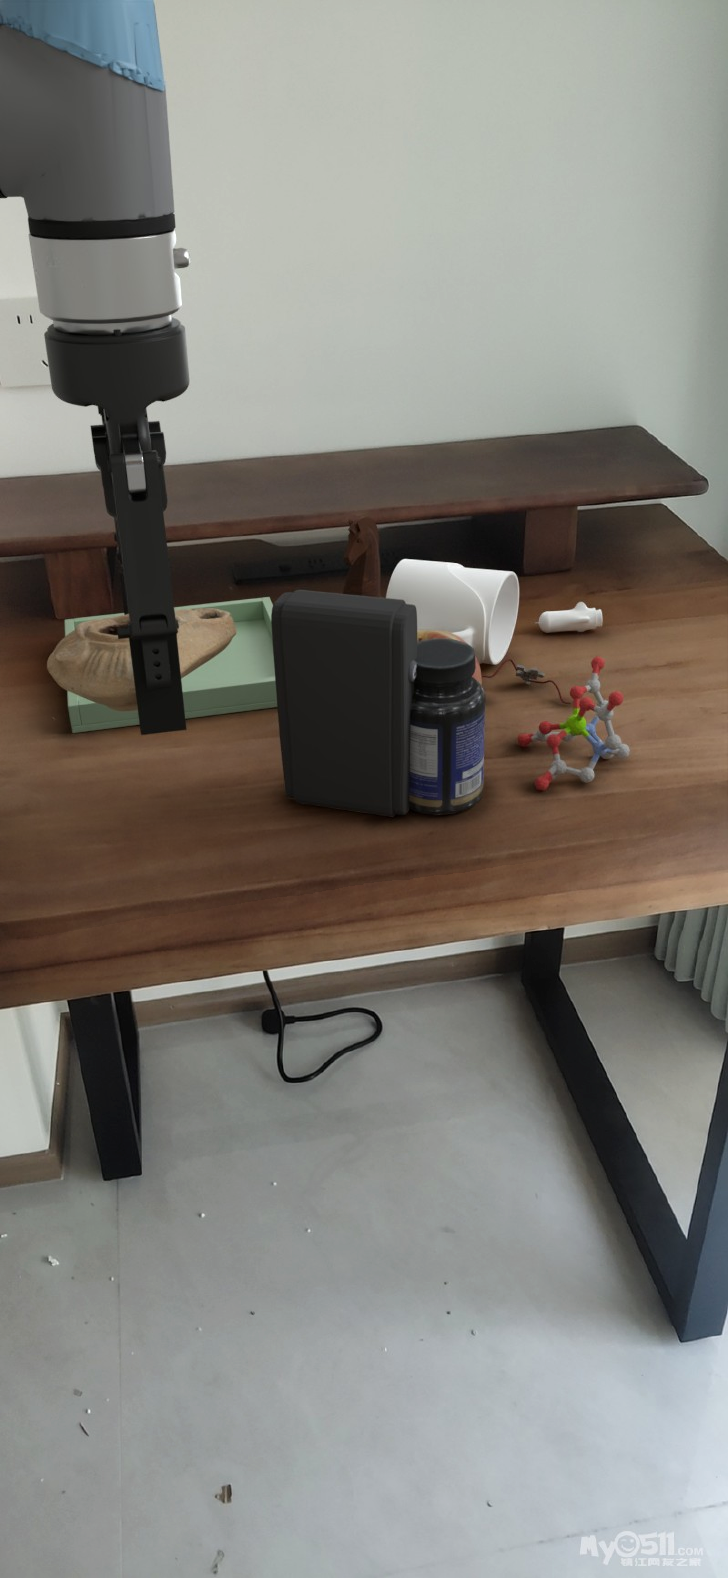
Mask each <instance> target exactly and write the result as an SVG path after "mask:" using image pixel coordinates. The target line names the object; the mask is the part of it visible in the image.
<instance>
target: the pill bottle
mask: <svg viewBox="0 0 728 1578" xmlns="http://www.w3.org/2000/svg"><path fill="white" fill-rule="evenodd" d="M415 661H416V663H417V665H416V678H415V680H414V682H415V688H414V695H413V698H412V702H411V709H410V787H409V805H410V808H409V810H412V811H414V812H417V813H419V814H424V815H430V816H441V815H451V814H456V813H461V812H463V811H466V810H469V809H470V808H472V807H473V806H475V805H476V804H477V803H478V802H479V801H481V798H482V796H483V793H484V784H485V783H484V781H485V779H484V778H485V777H484V775H485V774H484V767H485V732H486V731H485V728H486V727H485V726H486V693H485V690H484V687H483V685H482V686H481V684H480V683H479V682H478V681H477V680H476V679H475V678H474V677H472V675H473V674H474V673H475V669H476V660H475V651H474V649H473V648H472V647H471V646H470V645H468V644H467V643H464V642H462V641H458V640H454V639H447V638H446V639H444V638H437V639H436V638H435V639H427V640H422V641H419V642H417V658H416V660H415Z"/></svg>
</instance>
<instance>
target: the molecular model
mask: <svg viewBox="0 0 728 1578" xmlns="http://www.w3.org/2000/svg"><path fill="white" fill-rule="evenodd" d="M605 662H606V661H605V660H604V658H603V657H601V656H595V657H593V658H592V659H591V662H590V666H591V668H592V672H591V675H590V678H589V679H588V680H587V681H586V682H585V685H584V686H579V685H574V686H572V687H571V688H570V689H569V697H571V699H572V700H573V702H572V715H569V716H568V717H567V719H566V721H565V722H560V723H551V722H550V721H548V720H542V721H541V722H540V723H539V725H538V729H537V731H535V732H532V733H521V734H519V735H518V737H517V741H516V742H517V744H518V745H519V746H520V747H522V748H525V747H528V746H529V745H530V744H531V743H534V742H538V741H540V742H542V743H544V742H546V744H547V746H548V747H549V748H551V751H552V757H553V761H552V762H551V764H550V768H549V769H548V770H546V771H545V773H544V774H543V775H541V776H538V777H537V778H536V779H535V781H534V786H535V788H536V789H537V790H539V791H545V790H547V789H548V788H549V786H550V783H551V782H552V781H554V779H556V777H558V776H560V775H564V774H565V773H567V774H571V775H573V776H574V775H575V776H578V778H579V780H580V781H581V782H582V783H584V784H586V783H587V784H588V783H591V782H592V781H593V780H594V779H595V771H594V768H595V766H596V764H597V763H598V761H599V759H600V757H601V758H602V759H604V760H610V759H612V758H613V757H614V756H615V757H616V758H618V759H620V760H622V759H623V760H624V759H627V758H628V757H629V755H630V752H631V751H630V747H629V745H627V744H626V743H623V742H622V738H621V737H620V736H619V735H618V734H615V731H614V728H613V724H612V720H611V719H612V718H613V717H614V715H615V714H614V713H615V712H614V710H613V709H614V708H615V707H618V706H621V705H622V704H623V702H624V695H623V694H622V693H621V692H620V691H616V690H615V691H612V692H611V693H610V694H609V696H608V700H606V699H604V698H603V697H602V694H601V693H600V689H601V682H600V681H599V676H600V671H601V670H603V668H605V664H606V663H605ZM585 693H590V694H593V697H594V698H595V700H596V701H597V703H596V704H594V701H593V699H592V698H590V697H588V696H584V694H585ZM583 696H584V697H583ZM589 711H592V712H594V713H595V715H594V716H593V718H592V719H591V721H590V722H589V723H587V721H586V718H585V717H584V716H585V715H586V712H589ZM599 721H602V722H604V726H605V730H606V734H607V736H606V738H605V740H604V741H602V740H601V738H600V737H599V736H598V734H597V733H596V732H597V729H596V725H597V724H598V722H599ZM557 730H561V731H557ZM577 736H582V737H583V738H585V739H586V740H587V741H588V742H589V744H590V745H591V746H593V747H592V751H593V756H592V757H591V759H590V761H589V763H588V765H587V766H584V767H582V768H581V769H578V768H575V767H570V766H567V763H566V762H565V761H564V760H562V759H561V756H560V751H559V746H560V745H561V741H562V740H563V741H564V742H566V743H571V742H573V741H574V740H575V738H576V737H577Z"/></svg>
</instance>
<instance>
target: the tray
mask: <svg viewBox="0 0 728 1578" xmlns="http://www.w3.org/2000/svg"><path fill="white" fill-rule="evenodd" d="M273 604H274V603H273V602H272V600H271V597H270V596H266V597H265V596H264V597H257V598H247V599H239V600H237V599H236V600H230V601H229V600H228V601H221V602H219V601H218V602H210V603H202V604H191V605H182V606H174V610H181V609H199V608H213V609H219V610H223V611H227V612H229V613H230V614H231V616H232V618H233V622H234V625H235V627H236V635H235V636H234V637H233V638H232V640H231V642H230V644H229V645H228V646H227V647H226V648H225V649H224V650H223V651H222V652H220V653H219V654H218V655H216V656H215V657H214V658H212V659H211V660H209V661H208V662H206V663H204V664H203V665H201V666H200V667H198V668H197V669H195V670H194V671H192V672H191V673H189V674H188V675H186V676H185V677H183V678H182V679H181V682H182V691H183V701H184V711H185V720H186V719H188V720H189V719H195V718H202V717H209V716H210V717H211V716H218V715H225V714H235V713H240V712H241V713H242V712H250V711H258V710H264V709H266V710H267V709H272V708H277V695H276V682H275V668H274V655H273V641H272V626H271V614H272V607H273ZM121 615H124V612H121V613H120V612H119V613H112V614H103V615H92V616H85V617H75V618H67V619H64V637H65V636H66V635H68V634H69V633H70V632H72V631H73V630H75V627H76V626H77V625H78V624H80V623H83V622H86V621H90V620H95V619H102V618H111V617H118V616H121ZM66 694H67V695H66V697H67V698H66V699H67V711H68V715H69V722H70V727H71V732H72V734H77V733H85V732H93V731H100V730H101V731H102V730H109V729H115V728H116V729H117V728H124V727H132V726H140V723H139V715H138V710H134V711H117V710H113V709H111V708H108V707H107V706H105V705H103V704H99V703H95V702H93V701H90V700H88V699H86V698H83V697H81V696H79V695H76V694H74V693H72V692H70V691H67V690H66Z"/></svg>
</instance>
